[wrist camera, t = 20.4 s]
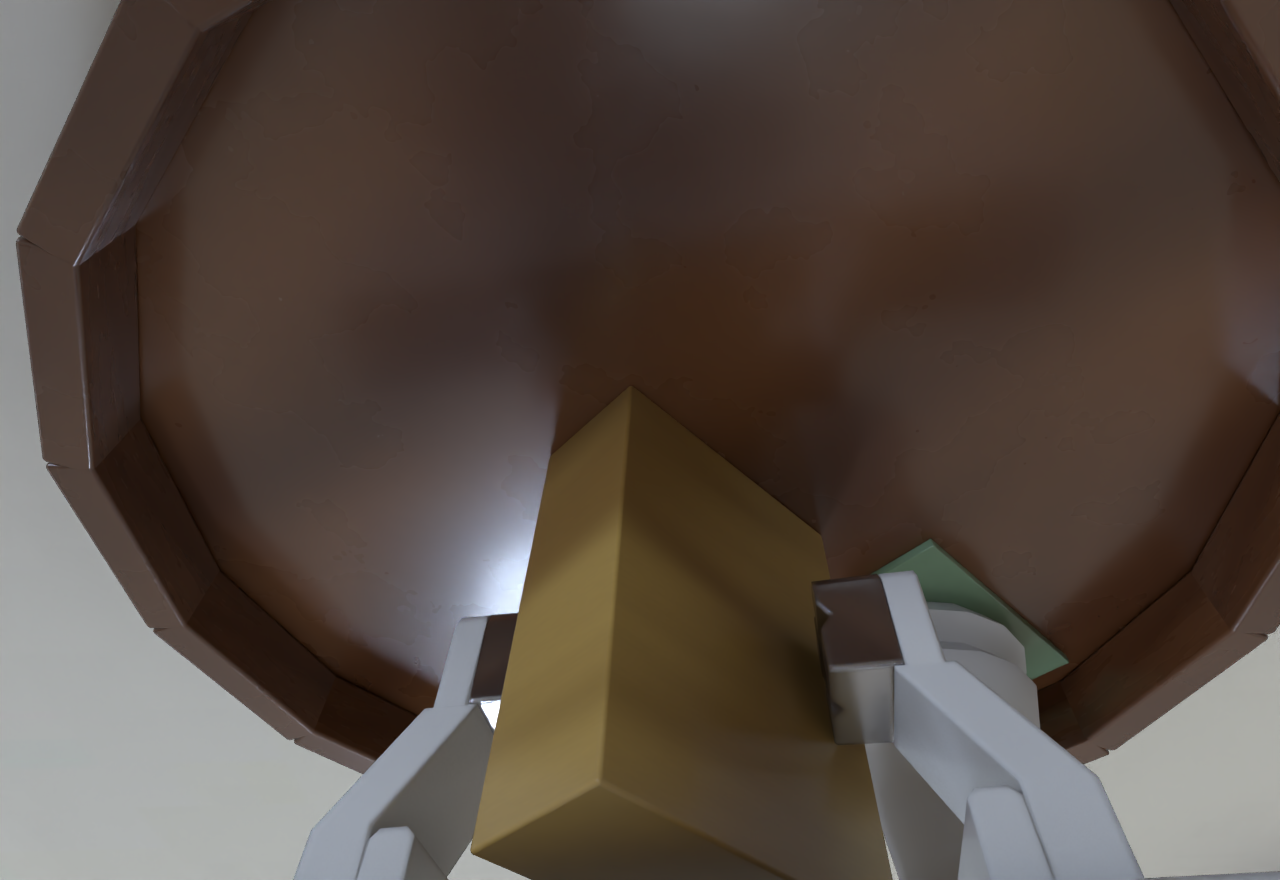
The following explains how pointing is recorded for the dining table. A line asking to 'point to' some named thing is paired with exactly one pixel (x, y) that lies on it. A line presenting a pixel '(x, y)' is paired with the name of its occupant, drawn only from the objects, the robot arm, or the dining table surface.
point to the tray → (669, 375)
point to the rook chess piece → (905, 800)
